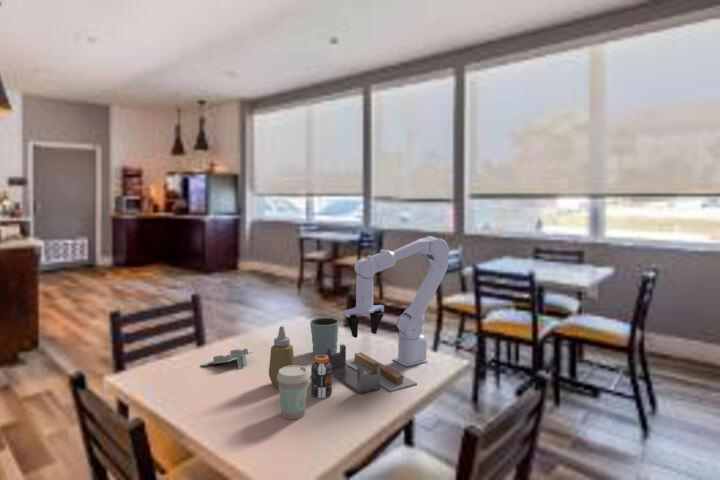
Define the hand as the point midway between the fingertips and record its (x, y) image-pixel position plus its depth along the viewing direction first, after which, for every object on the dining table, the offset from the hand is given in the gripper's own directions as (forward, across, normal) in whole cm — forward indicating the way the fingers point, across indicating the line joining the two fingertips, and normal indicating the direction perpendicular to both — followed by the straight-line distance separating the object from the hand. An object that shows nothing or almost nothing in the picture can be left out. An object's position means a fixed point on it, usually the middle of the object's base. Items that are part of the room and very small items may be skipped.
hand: (364, 335), depth 160 cm
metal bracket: (+11, -38, +25) cm, 47 cm away
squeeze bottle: (+11, -30, -1) cm, 32 cm away
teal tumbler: (+11, -6, +17) cm, 21 cm away
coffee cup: (+11, -35, -20) cm, 42 cm away
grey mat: (+10, 0, -8) cm, 13 cm away
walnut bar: (+10, 0, -8) cm, 13 cm away
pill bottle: (+11, -23, -13) cm, 28 cm away
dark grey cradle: (+10, -10, -8) cm, 16 cm away
